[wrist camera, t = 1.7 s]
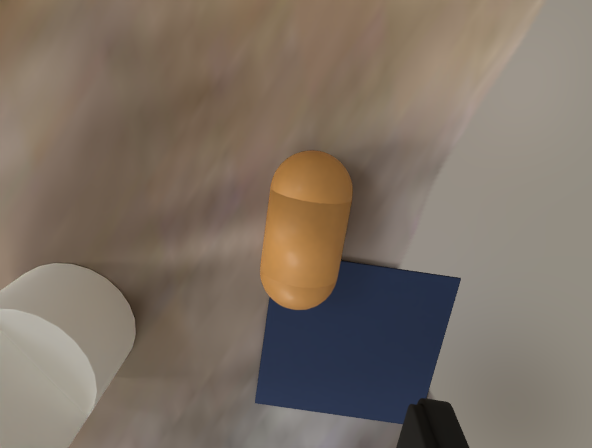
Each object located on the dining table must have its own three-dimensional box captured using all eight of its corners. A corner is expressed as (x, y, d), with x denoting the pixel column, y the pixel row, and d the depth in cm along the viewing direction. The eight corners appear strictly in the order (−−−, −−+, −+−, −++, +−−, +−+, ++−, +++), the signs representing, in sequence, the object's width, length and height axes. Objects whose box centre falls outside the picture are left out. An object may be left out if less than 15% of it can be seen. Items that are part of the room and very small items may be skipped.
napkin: (276, 250, 29) (275, 251, 29) (460, 277, 29) (461, 278, 29) (255, 401, 33) (255, 403, 33) (417, 424, 33) (418, 426, 33)
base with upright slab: (-21, 306, 31) (-212, 442, 20) (73, 238, 29) (-79, 345, 18) (70, 396, 33) (-56, 564, 22) (162, 338, 31) (77, 490, 20)
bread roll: (278, 140, 27) (272, 150, 22) (355, 151, 27) (364, 164, 22) (260, 283, 30) (251, 318, 25) (329, 294, 30) (332, 330, 25)
